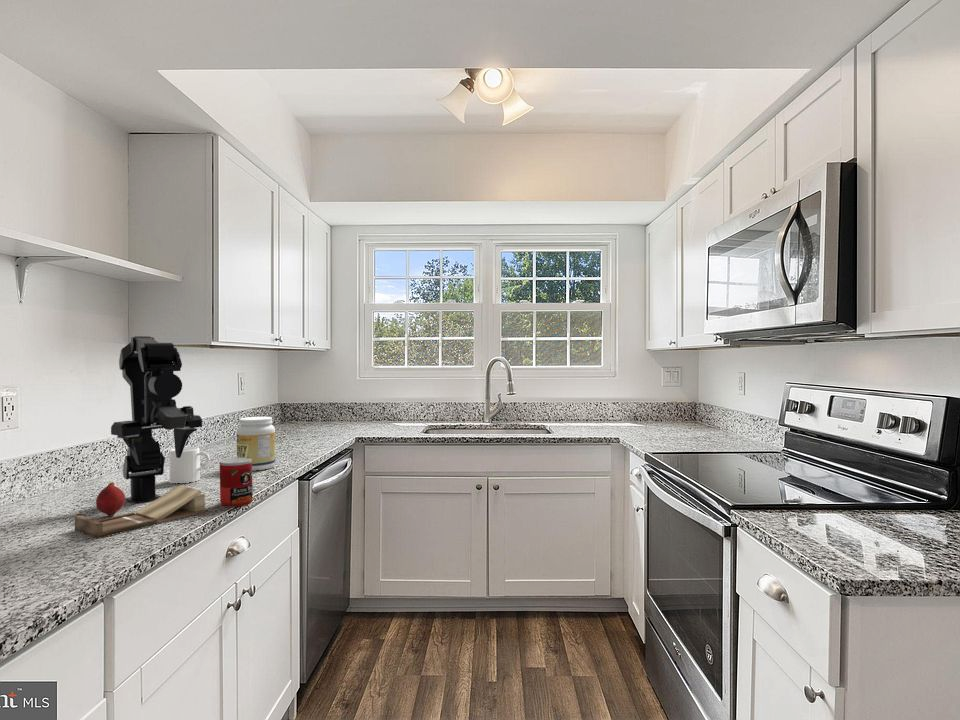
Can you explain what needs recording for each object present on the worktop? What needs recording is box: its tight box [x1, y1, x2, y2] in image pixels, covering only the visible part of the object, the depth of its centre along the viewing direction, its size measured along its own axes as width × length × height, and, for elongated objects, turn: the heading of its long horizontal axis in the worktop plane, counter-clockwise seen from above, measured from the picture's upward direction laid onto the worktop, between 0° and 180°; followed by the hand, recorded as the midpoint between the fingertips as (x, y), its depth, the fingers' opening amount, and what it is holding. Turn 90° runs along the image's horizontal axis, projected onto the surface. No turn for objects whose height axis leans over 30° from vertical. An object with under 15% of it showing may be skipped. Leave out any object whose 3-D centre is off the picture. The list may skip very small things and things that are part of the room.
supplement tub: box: [236, 416, 276, 472], centre depth 192 cm, size 12×12×17 cm
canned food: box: [219, 457, 254, 508], centre depth 146 cm, size 8×8×11 cm
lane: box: [74, 508, 205, 539], centre depth 130 cm, size 11×23×3 cm, turn 146°
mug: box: [169, 446, 211, 485], centre depth 172 cm, size 8×12×10 cm
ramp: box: [135, 484, 206, 520], centre depth 136 cm, size 10×11×6 cm
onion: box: [95, 481, 126, 517], centre depth 135 cm, size 6×6×8 cm
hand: (159, 460), depth 135 cm, fingers open, 9 cm apart
